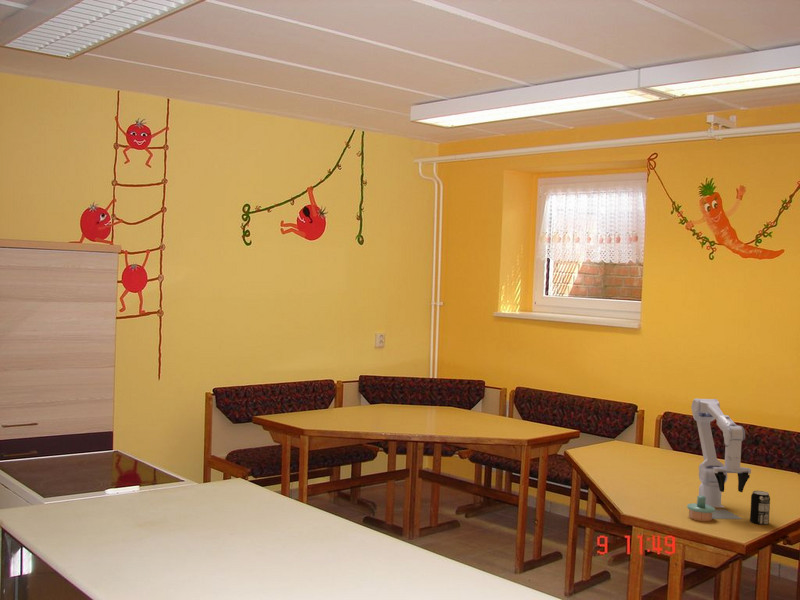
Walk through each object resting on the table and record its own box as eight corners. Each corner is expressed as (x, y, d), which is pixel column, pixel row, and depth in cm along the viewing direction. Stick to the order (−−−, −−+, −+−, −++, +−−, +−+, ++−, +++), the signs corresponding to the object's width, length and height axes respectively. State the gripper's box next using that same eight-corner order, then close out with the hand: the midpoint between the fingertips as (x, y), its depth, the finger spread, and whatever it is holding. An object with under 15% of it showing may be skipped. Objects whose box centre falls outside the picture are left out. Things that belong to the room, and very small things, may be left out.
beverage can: (752, 520, 315) (754, 489, 315) (770, 523, 311) (772, 492, 311) (747, 523, 310) (749, 492, 310) (765, 527, 306) (767, 495, 306)
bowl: (686, 516, 317) (686, 505, 317) (705, 516, 318) (705, 506, 318) (695, 522, 309) (695, 511, 309) (714, 522, 310) (715, 511, 310)
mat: (697, 510, 326) (697, 508, 326) (725, 510, 327) (725, 509, 327) (712, 520, 313) (712, 518, 313) (742, 520, 314) (742, 518, 314)
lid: (683, 504, 318) (683, 492, 318) (708, 505, 318) (709, 493, 318) (693, 512, 308) (693, 499, 308) (719, 513, 308) (719, 500, 308)
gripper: (720, 458, 314) (718, 493, 314) (755, 459, 315) (754, 494, 315) (711, 454, 321) (709, 489, 321) (746, 455, 322) (744, 489, 322)
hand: (731, 491), depth 319 cm, fingers open, 7 cm apart
